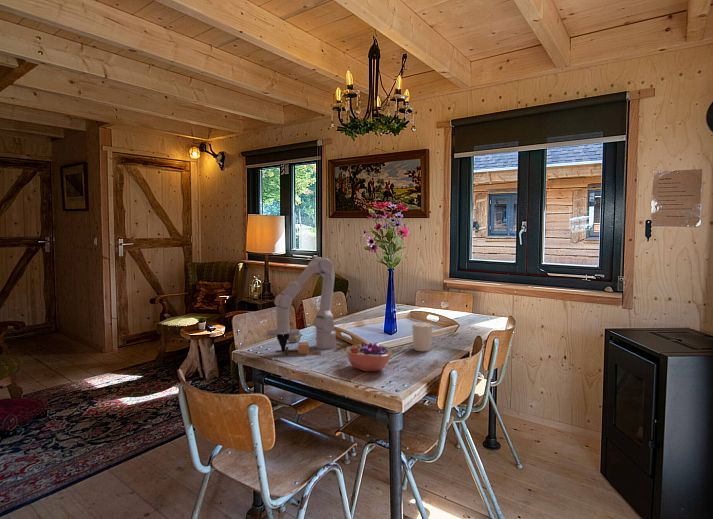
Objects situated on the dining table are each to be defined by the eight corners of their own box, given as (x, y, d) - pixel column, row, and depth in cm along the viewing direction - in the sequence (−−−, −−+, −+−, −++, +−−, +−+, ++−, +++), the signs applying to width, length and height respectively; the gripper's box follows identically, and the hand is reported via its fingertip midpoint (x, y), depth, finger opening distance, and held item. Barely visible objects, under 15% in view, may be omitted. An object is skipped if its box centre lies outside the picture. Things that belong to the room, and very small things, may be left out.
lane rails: (306, 353, 199) (306, 349, 199) (306, 358, 191) (306, 354, 191) (276, 354, 198) (276, 350, 198) (274, 359, 190) (274, 355, 190)
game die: (296, 351, 215) (298, 339, 209) (281, 345, 216) (283, 332, 210) (304, 339, 222) (306, 327, 215) (289, 333, 223) (291, 320, 217)
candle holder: (407, 349, 207) (407, 324, 206) (419, 345, 214) (419, 321, 213) (424, 353, 200) (425, 327, 200) (436, 348, 208) (436, 324, 207)
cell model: (359, 360, 190) (359, 334, 189) (399, 368, 178) (400, 341, 178) (336, 370, 176) (336, 343, 175) (378, 380, 164) (378, 350, 164)
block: (308, 352, 198) (308, 342, 197) (308, 354, 193) (308, 345, 193) (298, 352, 197) (298, 342, 197) (298, 355, 193) (298, 345, 192)
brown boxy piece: (321, 353, 199) (321, 345, 199) (321, 357, 193) (321, 349, 193) (286, 354, 198) (286, 346, 197) (285, 358, 192) (285, 350, 191)
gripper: (265, 323, 189) (266, 353, 190) (298, 322, 190) (299, 353, 191) (267, 320, 196) (268, 349, 197) (299, 319, 197) (300, 348, 198)
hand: (283, 350), depth 194 cm, fingers closed
